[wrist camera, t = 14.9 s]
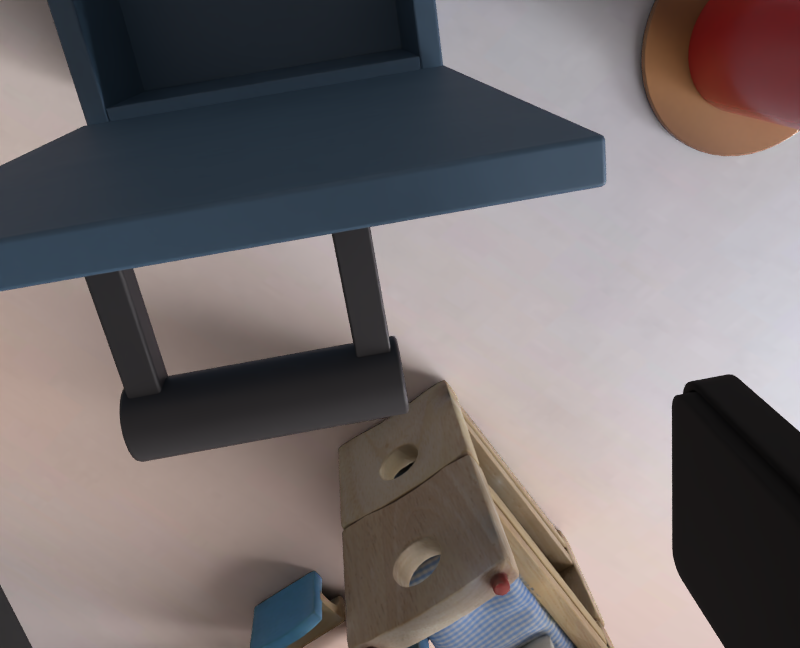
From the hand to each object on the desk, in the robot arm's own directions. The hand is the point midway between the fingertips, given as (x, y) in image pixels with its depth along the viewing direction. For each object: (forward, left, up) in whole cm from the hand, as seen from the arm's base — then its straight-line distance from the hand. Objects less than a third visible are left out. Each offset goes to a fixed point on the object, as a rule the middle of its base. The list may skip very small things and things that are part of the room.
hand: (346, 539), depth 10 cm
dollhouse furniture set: (+22, +6, -26) cm, 34 cm away
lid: (-3, -3, -11) cm, 11 cm away
